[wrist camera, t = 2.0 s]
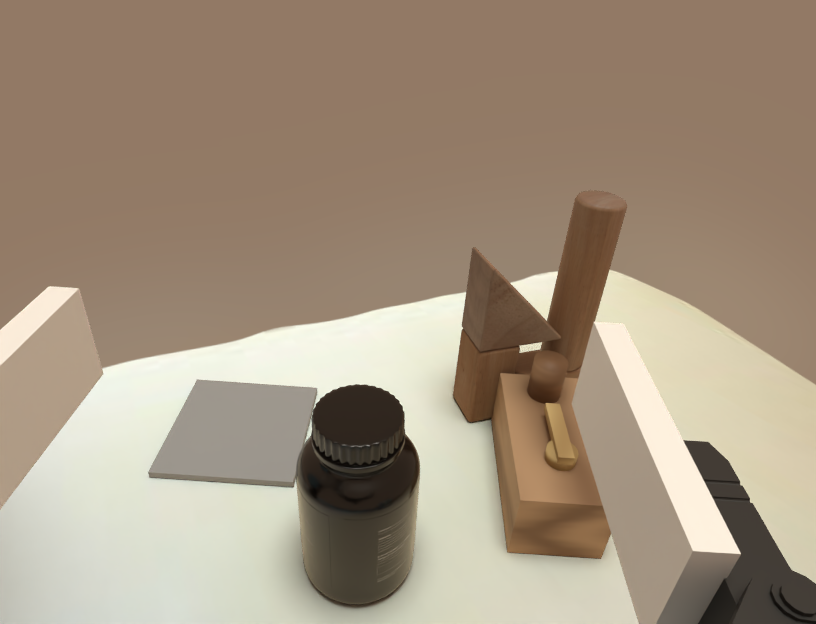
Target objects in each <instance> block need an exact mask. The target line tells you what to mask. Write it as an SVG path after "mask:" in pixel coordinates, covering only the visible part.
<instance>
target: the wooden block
mask: <svg viewBox="0 0 816 624" xmlns="http://www.w3.org/2000/svg"><path fill="white" fill-rule="evenodd" d="M626 209H627V204H626V202H625V200H623V199H622V198H621V197H619V196H617V195H614V194H611V193H608V192H604V191H583V192H581V193H579V194H578V195H577V197H576V198H575V202H574V206H573V210H572V215H571V219H570V223H569V228H568V232H567V237H566V241H565V245H564V250H563V254H562V258H561V263H560V267H559V271H558V276H557V280H556V284H555V289H554V293H553V297H552V302H551V306H550V310H549V315H548V319H547V321H546V320H545V319H544V318H543V317H542V316H541V315H540V313H539V312H538V311H537V310H536V309H535V308H534V307H533V306H532V305H531V304H530V303H529V302H528V301H527V300H526V299H525V298H524V297H523V296H522V295H521V294H520V293H519V292H518V291H517V290H516V289H515V288H514V287H513V286H512V285H511V284H510V283H509V282H508V281H507V280H506V279H505V278H504V277H503V276H502V275H501V274H500V272H499V271H498V270H497V269H495V267H494V266H493V265H492V264H491V263H490V262H489V261H488V260H487V259H486V258H485V257H484V256H483V255H482V254H481V253H480V252H479V251H478V250H477V249H476V248H474V247H473V249H472V255H471V262H470V270H469V278H468V284H467V291H466V299H465V306H464V313H463V321H462V327H463V328H464V329H462V333H461V340H460V347H459V355H458V362H457V369H456V377H455V384H454V391H453V396H454V398H455V400H456V402H457V403H458V405H459V407H460V408H461V410H462V412H463V413H464V415H465V417H466V419H467V420H468V421H469V422H474V421H479V420H484V419H489V418H492V414H493V409H494V404H495V398H496V393H497V388H498V383H499V377H500V373H507V374H522V375H531V370H532V366H533V362H534V357H535V355H536V354H537V353H538V352H540V351H546V350H548V351H554V352H557V353H560V354H562V355H563V356H564V357H566V359H567V360H568V362H569V365H568V369H567V373H566V376H565V378H579V374H580V371H581V367H582V363H583V360H584V356H585V352H586V349H587V345H588V341H589V338H590V334H591V330H592V326H593V323H594V322H595V319H596V315H597V311H598V308H599V304H600V301H601V297H602V294H603V290H604V287H605V283H606V280H607V276H608V273H609V269H610V266H611V262H612V259H613V255H614V251H615V248H616V244H617V241H618V237H619V234H620V230H621V227H622V223H623V219H624V216H625V213H626ZM539 342H542V345H541V350H535V351H529V352H523V353H519V351H520V347H519V346H520V345H526V344H532V343H539Z"/></svg>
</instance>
